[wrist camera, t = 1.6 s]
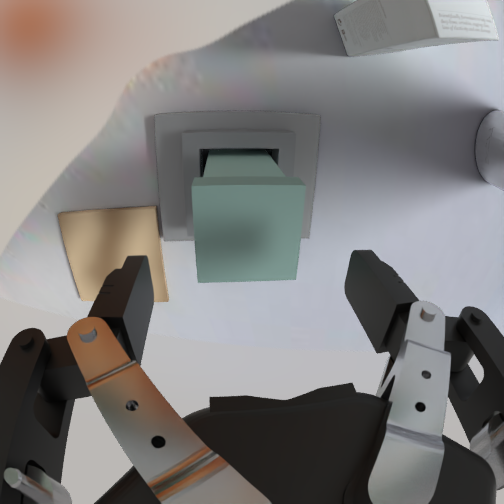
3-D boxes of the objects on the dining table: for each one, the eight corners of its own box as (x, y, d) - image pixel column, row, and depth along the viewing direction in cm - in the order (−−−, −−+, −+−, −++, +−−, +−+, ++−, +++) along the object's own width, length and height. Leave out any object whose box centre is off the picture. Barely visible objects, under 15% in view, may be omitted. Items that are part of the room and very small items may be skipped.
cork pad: (156, 205, 25) (155, 208, 25) (168, 298, 30) (168, 301, 29) (60, 212, 24) (57, 215, 24) (83, 297, 29) (81, 300, 29)
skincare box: (347, 59, 20) (438, 44, 10) (330, 12, 18) (408, -33, 7) (404, 51, 20) (503, 47, 9) (389, 7, 17) (481, -19, 7)
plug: (269, 145, 24) (305, 185, 14) (266, 204, 26) (295, 279, 16) (205, 145, 23) (191, 186, 13) (206, 205, 26) (198, 282, 16)
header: (316, 114, 22) (329, 117, 20) (306, 233, 28) (315, 248, 25) (157, 114, 21) (148, 116, 19) (165, 236, 27) (160, 252, 24)
